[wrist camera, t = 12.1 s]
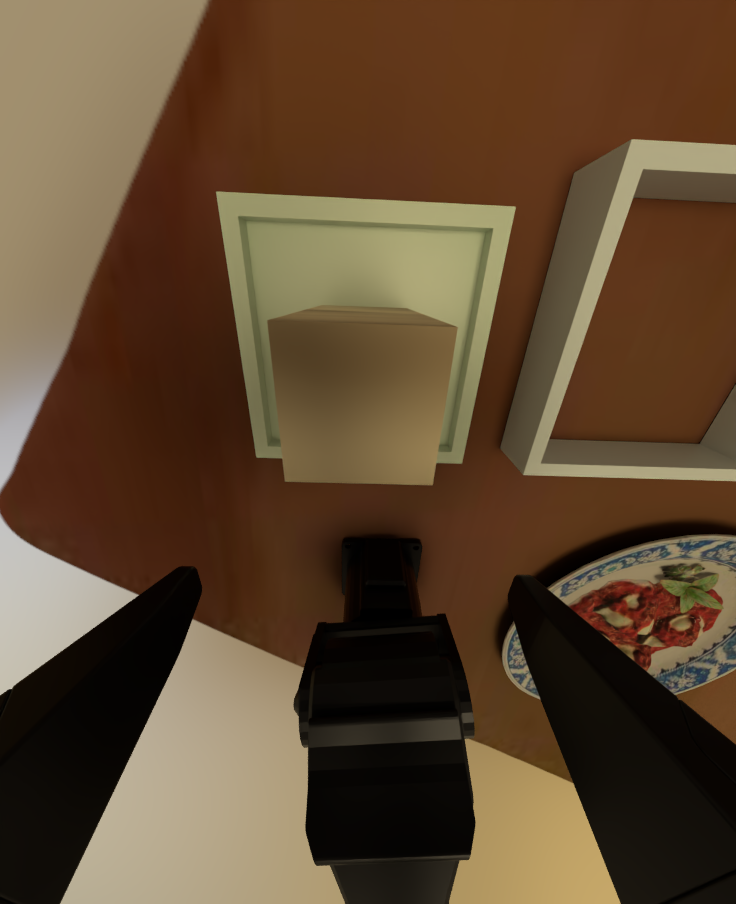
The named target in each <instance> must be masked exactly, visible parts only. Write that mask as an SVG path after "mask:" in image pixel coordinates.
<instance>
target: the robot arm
mask: <svg viewBox="0 0 736 904" xmlns="http://www.w3.org/2000/svg"><path fill="white" fill-rule="evenodd" d="M346 544H350V545H346ZM414 546H416V547H414ZM421 553H422V544H421V542H420V541H419V540H403V539H360V538H346V539H344V540H343V542H342V593H343V595H345V604H344V619H343V622H340V623H326V622H320V623H318V625H317V628H316V632H315V634H314V635H313V638H312V642H311V645H310V649H309V652H308V656H307V659H306V663H305V666H304V670H303V673H302V677H301V681H300V684H299V689H298V691H297V693H296V696H295V698H294V710H295V712H296V713H297V715H298V716H299V732H300V740H301V743H302V746H303V747H304V748H305V747H308V795H307V811H306V835H307V839H308V842H309V846H310V850H311V853H312V857H313V860H314V863H315V864H316V865H317V866H323V865H330V867H331V869H332V871H333V874H334V876H335V879H336V881H337V884H338V886H339V889H340V891H341V894H342V896H343V899H344V901H345V904H449V899H450V895H451V891H452V887H453V883H454V879H455V875H456V871H457V868H458V864H459V860H469V858H470V855H471V849H472V843H473V836H474V831H475V816H474V810H473V803H474V802H473V791H472V785H471V778H470V772H469V765H468V759H467V752H466V746H465V739H468V738H474V718H473V711H472V704H471V699H470V693H469V689H468V684H467V680H466V676H465V672H464V668H463V665H462V662H461V659H460V656H459V653H458V650H457V647H456V644H455V641H454V638H453V635H452V632H451V629H450V626H449V623H448V620H447V617H446V615H445V613H444V614H437V615H436V616H423V617H422V612H421V606H420V600H419V595H418V589H417V577H418V571H419V565H420V559H421ZM201 593H202V585H201V581H200V578H199V575H198V571H197V569H196V568H195V567H193V566H181V567H178V568H176V569H175V570H173V571H172V572H171V573H169V574H168V575H166V576H165V577H164V578H162V579H161V580H160V581H158V582H157V583H155V584H154V585H153V586H151V587H150V588H148V589H147V590H146V591H144V592H143V593H142V594H140V595H139V596H137V597H136V598H135V599H133V600H132V601H130V602H129V603H128V604H126V605H125V606H124V607H122V608H121V609H119V610H118V611H117V612H115V613H114V614H113V615H111V616H110V617H108V618H107V619H106V620H104V621H103V622H101V623H100V624H99V625H97V626H96V627H95V628H93V629H92V630H91V631H89V632H88V633H86V634H85V635H83V636H82V637H81V638H80V639H78V640H77V641H75V642H74V643H72V644H71V645H70V646H68V647H67V648H66V649H64V650H63V651H61V652H60V653H59V654H57V655H56V656H54V657H53V658H52V659H50V660H49V661H48V662H46V663H45V664H44V665H42V666H41V667H39V668H38V669H37V670H35V671H34V672H32V673H31V674H29V675H28V676H27V677H25V678H24V679H23V680H21V681H20V682H19V683H17V684H16V685H15V686H14V687H13V688H12V689H9V690H7V691H6V692H4V693H3V694H2V695H0V904H60V903H61V900H62V899H63V896H64V894H65V892H66V890H67V888H68V886H69V884H70V882H71V880H72V878H73V876H74V873H75V871H76V869H77V867H78V865H79V863H80V861H81V859H82V857H83V855H84V853H85V850H86V848H87V846H88V844H89V842H90V840H91V838H92V836H93V834H94V832H95V829H96V827H97V825H98V823H99V821H100V819H101V817H102V815H103V813H104V811H105V809H106V806H107V804H108V802H109V800H110V798H111V796H112V794H113V792H114V789H115V788H116V786H117V784H118V781H119V779H120V777H121V775H122V773H123V771H124V769H125V767H126V765H127V762H128V760H129V758H130V756H131V754H132V752H133V750H134V748H135V746H136V744H137V742H138V740H139V737H140V735H141V733H142V731H143V729H144V727H145V725H146V723H147V721H148V719H149V717H150V714H151V712H152V710H153V708H154V706H155V704H156V702H157V700H158V697H159V696H160V694H161V691H162V689H163V687H164V685H165V683H166V681H167V679H168V677H169V675H170V673H171V670H172V668H173V666H174V664H175V662H176V660H177V658H178V655H179V653H180V651H181V648H182V646H183V643H184V640H185V638H186V635H187V632H188V629H189V627H190V624H191V621H192V619H193V616H194V613H195V610H196V608H197V605H198V602H199V600H200V597H201ZM508 602H509V606H510V610H511V613H512V617H513V620H514V623H515V627H516V630H517V634H518V637H519V641H520V644H521V648H522V651H523V654H524V657H525V661H526V663H527V666H528V669H529V671H530V674H531V676H532V679H533V681H534V684H535V687H536V689H537V692H538V694H539V697H540V699H541V702H542V704H543V707H544V709H545V712H546V714H547V717H548V720H549V722H550V725H551V727H552V730H553V732H554V735H555V737H556V740H557V742H558V745H559V748H560V750H561V753H562V755H563V758H564V760H565V763H566V765H567V768H568V770H569V773H570V775H571V778H572V781H573V783H574V785H575V788H576V791H577V793H578V796H579V798H580V801H581V803H582V806H583V809H584V811H585V813H586V816H587V819H588V821H589V824H590V826H591V829H592V831H593V834H594V836H595V839H596V842H597V844H598V847H599V849H600V852H601V854H602V857H603V859H604V862H605V864H606V867H607V870H608V872H609V875H610V877H611V880H612V882H613V885H614V887H615V890H616V892H617V895H618V898H619V900H620V903H621V904H736V744H734V743H733V742H732V741H731V740H730V739H728V738H727V737H726V736H725V735H723V734H722V733H721V732H720V731H718V730H717V729H716V728H715V727H714V726H712V725H711V724H710V723H709V722H707V721H706V720H705V719H704V718H702V717H701V716H700V715H699V714H698V713H696V712H695V711H694V710H693V709H692V708H690V707H689V706H688V705H687V704H686V703H684V702H683V701H682V700H678V698H677V696H676V695H675V694H673V693H672V692H671V691H670V690H669V689H667V688H666V687H665V686H664V685H663V684H661V683H660V682H659V681H658V680H657V679H655V678H654V677H653V676H652V675H651V674H649V673H648V672H647V671H646V670H645V669H643V668H642V667H641V666H640V665H639V664H637V663H636V662H635V661H634V660H633V659H631V658H630V657H629V656H628V655H626V654H625V653H624V652H623V651H622V650H620V649H619V648H618V647H617V646H616V645H614V644H613V643H612V642H611V641H610V640H608V639H607V638H606V637H605V636H604V635H602V634H601V633H600V632H599V631H598V630H596V629H595V628H594V627H593V626H592V625H590V624H589V623H588V622H587V621H586V620H584V619H583V618H582V617H581V616H580V615H578V614H577V613H576V612H575V611H574V610H572V609H571V608H570V607H569V606H568V605H566V604H565V603H564V602H563V601H562V600H560V599H559V598H558V597H557V596H556V595H554V594H553V593H552V592H551V591H550V590H548V589H547V588H546V587H545V586H544V585H542V584H541V583H540V582H539V581H538V580H536V579H535V578H534V577H532V576H530V575H516V576H515V577H514V579H513V582H512V585H511V587H510V590H509V593H508Z"/></svg>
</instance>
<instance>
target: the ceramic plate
mask: <svg viewBox="0 0 736 904" xmlns="http://www.w3.org/2000/svg"><path fill="white" fill-rule="evenodd" d="M547 589H548V590H550V591H551V592H552V593H553V594H554V595H556V596H557V597H558V598H559V599H560V600H562V601H563V602H564V603H565V604H566V605H568V606H569V607H570V608H571V609H572V610H574V611H575V612H576V613H577V614H578V615H580V616H581V617H582V618H583V619H584V620H586V621H587V622H588V623H589V624H590V625H592V626H593V627H594V628H595V629H596V630H598V631H599V632H600V633H601V634H602V635H604V636H605V637H606V638H607V639H608V640H610V641H611V642H612V643H613V644H614V645H616V646H617V647H618V648H619V649H620V650H622V651H623V652H624V653H625V654H626V655H628V656H629V657H630V658H631V659H633V660H634V661H635V662H636V663H637V664H639V665H640V666H641V667H642V668H643V669H645V670H646V671H647V672H648V673H649V674H651V675H652V676H653V677H654V678H655V679H657V680H658V681H659V682H660V683H661V684H663V685H664V686H665V687H666V688H667V689H669V690H670V691H671V692H672V693H673V694H675V695H676V694H679V693H682V692H685V691H688V690H691V689H694V688H697V687H699V686H702V685H704V684H706V683H708V682H711V681H713V680H715V679H717V678H720V677H722V676H724V675H726V674H728V673H730V672H732V671H733V670H735V669H736V536H734V535H721V534H703V535H686V536H680V537H674V538H668V539H661V540H656V541H651V542H647V543H643V544H640V545H636V546H633V547H630V548H626V549H623V550H620V551H617V552H614V553H612V554H609V555H607V556H604V557H602V558H600V559H597V560H595V561H593V562H591V563H588V564H586V565H584V566H582V567H580V568H578V569H577V570H575V571H573V572H571V573H570V574H568V575H566V576H564V577H562V578H561V579H559V580H557V581H556V582H554V583H553V584H552V585H550V586H549V587H548V588H547ZM502 661H503V665H504V668H505V671H506V673H507V675H508V677H509V678H510V680H511V681H512V682H513V683H514V684H515V685H516V686H517V687H518V688H519V689H521V690H522V691H524V692H526V693H527V694H529V695H531V696H533V697H536V698H538V699H540V697H539V694H538V692H537V689H536V687H535V684H534V681H533V679H532V676H531V674H530V671H529V669H528V666H527V663H526V661H525V657H524V654H523V651H522V648H521V644H520V641H519V637H518V634H517V630H516V627H515V623H514V621H513V623H512V625H511V626H510V628H509V630H508V632H507V634H506V637H505V639H504V643H503V648H502ZM540 700H541V699H540Z"/></svg>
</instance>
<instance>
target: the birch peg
mask: <svg viewBox="0 0 736 904" xmlns="http://www.w3.org/2000/svg"><path fill="white" fill-rule="evenodd" d="M267 324H268V333H269V342H270V351H271V360H272V369H273V378H274V387H275V396H276V405H277V414H278V424H279V433H280V442H281V451H282V460H283V469H284V478H285V482H319V483H360V484H401V485H433V480H434V474H435V468H436V461H437V455H438V449H439V443H440V436H441V430H442V424H443V417H444V411H445V405H446V399H447V392H448V386H449V380H450V373H451V367H452V361H453V355H454V348H455V342H456V336H457V329H458V327H456V326H454V325H451V324H448V323H445V322H443V321H440V320H437V319H435V318H432V317H429V316H427V315H424V314H421V313H419V312H416V311H413V310H411V309H408V308H389V307H362V306H335V305H320V306H316V307H313V308H309V309H306V310H302V311H298V312H295V313H291V314H288V315H284V316H281V317H277V318H273V319H270V320H267Z"/></svg>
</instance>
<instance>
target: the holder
mask: <svg viewBox="0 0 736 904" xmlns="http://www.w3.org/2000/svg"><path fill="white" fill-rule="evenodd" d="M633 198H651V199H670V200H690V201H709V202H729V203H736V145H723V144H705V143H687V142H669V141H652V140H634V139H632V140H630V141H628V142H626V143H625V144H623V145H621V146H619V147H618V148H616V149H614V150H613V151H611V152H609V153H607V154H606V155H604V156H602V157H600V158H599V159H597V160H595V161H593V162H592V163H590V164H588V165H587V166H585V167H583V168H581V169H580V170H578V171H576V172H574V175H573V179H572V183H571V186H570V190H569V194H568V198H567V201H566V205H565V209H564V212H563V216H562V220H561V224H560V227H559V231H558V235H557V238H556V242H555V246H554V250H553V253H552V257H551V261H550V264H549V268H548V272H547V276H546V279H545V283H544V287H543V290H542V294H541V298H540V302H539V305H538V309H537V313H536V316H535V320H534V324H533V328H532V331H531V335H530V339H529V342H528V346H527V350H526V354H525V357H524V361H523V365H522V368H521V372H520V376H519V380H518V383H517V387H516V391H515V394H514V398H513V402H512V406H511V409H510V413H509V417H508V420H507V424H506V428H505V432H504V435H503V439H502V443H501V446H500V449H501V450H502V451H503V452H504V453H505V454H506V456H507V457H508V458H509V459H510V460H511V461H512V463H513V464H514V465H515V466H516V467H517V468H518V470H519V471H520V472H521V473H522V474H523V475H543V476H578V477H612V478H647V479H681V480H716V481H736V385H735V386H734V388H733V390H732V391H731V393H730V395H729V396H728V398H727V400H726V401H725V403H724V404H723V406H722V408H721V409H720V411H719V413H718V414H717V416H716V418H715V419H714V421H713V423H712V424H711V426H710V428H709V429H708V431H707V432H706V434H705V436H704V437H703V439H702V441H701V442H700V444H684V443H653V442H621V441H590V440H558V439H549V438H550V435H551V432H552V429H553V426H554V424H555V421H556V418H557V415H558V412H559V409H560V406H561V403H562V401H563V398H564V395H565V392H566V389H567V386H568V383H569V380H570V378H571V375H572V372H573V369H574V366H575V363H576V360H577V357H578V355H579V352H580V349H581V346H582V343H583V340H584V337H585V334H586V332H587V329H588V326H589V323H590V320H591V317H592V314H593V311H594V309H595V306H596V303H597V300H598V297H599V294H600V291H601V288H602V286H603V283H604V280H605V277H606V274H607V271H608V268H609V265H610V263H611V260H612V257H613V254H614V251H615V248H616V245H617V242H618V240H619V237H620V234H621V231H622V228H623V225H624V222H625V219H626V217H627V214H628V211H629V208H630V205H631V202H632V199H633Z"/></svg>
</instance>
